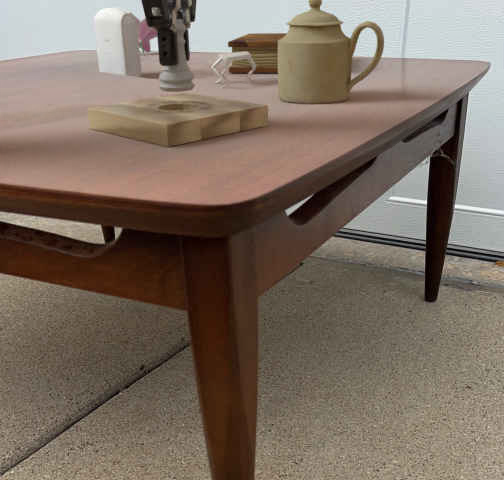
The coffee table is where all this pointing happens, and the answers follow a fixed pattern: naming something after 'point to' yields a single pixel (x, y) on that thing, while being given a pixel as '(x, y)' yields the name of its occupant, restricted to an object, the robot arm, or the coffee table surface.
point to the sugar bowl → (320, 58)
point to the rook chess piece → (177, 67)
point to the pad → (178, 118)
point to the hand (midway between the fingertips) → (175, 62)
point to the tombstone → (117, 42)
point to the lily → (145, 35)
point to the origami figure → (233, 57)
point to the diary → (257, 52)
